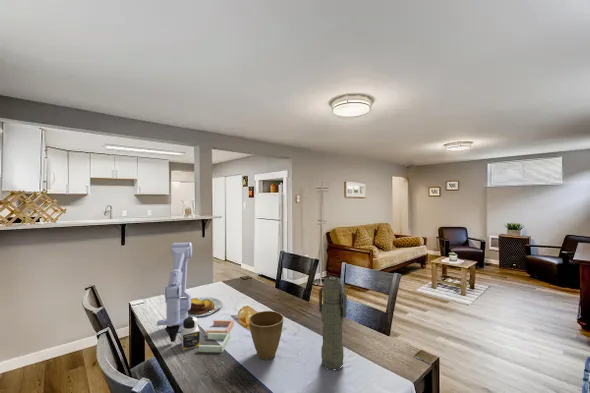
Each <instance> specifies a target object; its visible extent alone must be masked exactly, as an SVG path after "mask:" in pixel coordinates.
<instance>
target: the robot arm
mask: <svg viewBox="0 0 590 393" xmlns="http://www.w3.org/2000/svg"><path fill="white" fill-rule="evenodd" d="M170 254H171V255H172V257H173V269H172V270H171V272H169V278H168V282H167V286H166V287H165V288H164V299H165V304H166V305H165V306H166V312H165V313H166V315H165V316H166V319H158V320H157V321H156V326H157V327H158V326H166V327H165V331H166V332H167V334H168V337H169V340H170V343H175V341H176V339H177V336H178V333H181V329H182V328H183V321H184V320H185V319H186V318H188V317H189V316H188V310H190V308H191V299H192V296H191V294H190V293H189V292H187V289H186V288H187V276H188V274H187V272H188V262H189V260H190V259H191V258H192V256H193V244H192V242H191V241H190V242H173V243H172V244H171V246H170Z"/></svg>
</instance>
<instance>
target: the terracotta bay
mask: <svg viewBox="0 0 590 393" xmlns="http://www.w3.org/2000/svg"><path fill="white" fill-rule="evenodd" d="M234 323H235V322H234V320H231V319H228V320H226V319H222V320H221V319H214V320H213V326H214V327H215V326H216V327H226V329H225V330H224V329H206V330H205V336H206V337H208V333H231V330H232V329H233V328H234Z"/></svg>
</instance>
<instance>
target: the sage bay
mask: <svg viewBox="0 0 590 393" xmlns="http://www.w3.org/2000/svg"><path fill="white" fill-rule="evenodd" d="M207 340H223V341H222V343H221V344H219V345H215V344H214V345H213V344H209V345H208V344H200V345H199V346H198V352H199V353H223V352H224V350H225V349H226V347H227V345H228V343H229V341H230V340H231V332H229V333H208V336H207Z"/></svg>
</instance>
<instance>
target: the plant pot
mask: <svg viewBox="0 0 590 393" xmlns="http://www.w3.org/2000/svg"><path fill="white" fill-rule="evenodd" d="M284 319H285V318H284V315H283V314H282V313H280V312H278V311H272V310H264V311H263V310H262V311H258V312H255V313H253V314H252V315H251V316H250V317H249V318H248V323H249V329H250V330H249V331H250V335H251V339H252V343H253V346H254V349H255V352H256V354H257V356H258V358H259V359H262V360H271V359H272V358H274V357H275V356H276V354H277V350H278V348H279V346H280V345H279V344H280V341H281V337H282V333H283V332H282V331H283V325H284Z"/></svg>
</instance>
